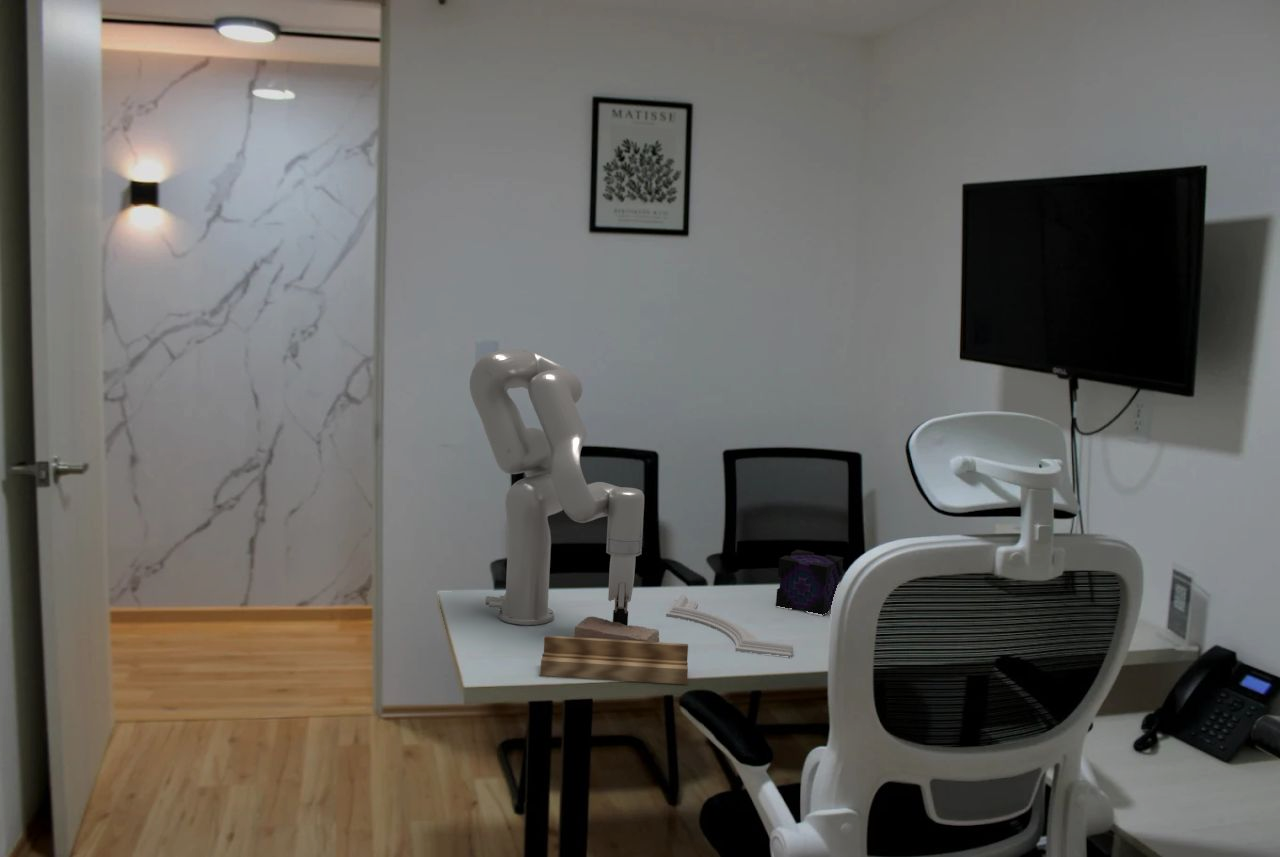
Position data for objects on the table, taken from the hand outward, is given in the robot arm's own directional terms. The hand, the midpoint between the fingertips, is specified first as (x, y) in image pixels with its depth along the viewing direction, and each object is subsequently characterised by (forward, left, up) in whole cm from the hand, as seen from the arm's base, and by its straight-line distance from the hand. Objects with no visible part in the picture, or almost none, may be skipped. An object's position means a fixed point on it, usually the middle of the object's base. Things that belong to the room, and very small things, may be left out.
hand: (619, 629), depth 239 cm
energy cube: (+45, +32, -2) cm, 55 cm away
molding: (+24, +10, -2) cm, 26 cm away
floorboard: (0, -22, -1) cm, 22 cm away
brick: (0, -6, -2) cm, 7 cm away
